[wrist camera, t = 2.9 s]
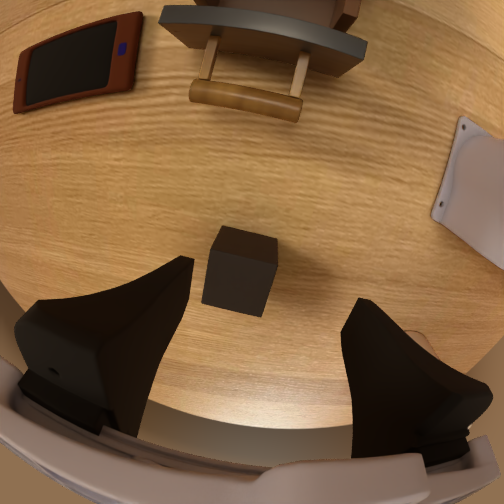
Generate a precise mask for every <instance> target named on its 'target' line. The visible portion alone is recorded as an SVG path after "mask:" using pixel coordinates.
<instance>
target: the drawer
mask: <svg viewBox="0 0 504 504" xmlns="http://www.w3.org/2000/svg"><path fill="white" fill-rule="evenodd" d="M194 2H195V3H196V4H197V5H165V6H164V7H163V10H162V13H161V16H160V19H159V22H158V23H159V24H160V25H161V26H162V27H164V28H165V29H166V30H168V31H169V32H170V33H171V34H173V35H174V36H175V37H176V38H177V39H179V40H180V41H181V42H182V43H184V44H185V45H186V46H187V47H188V48H193V49H205V53H204V57H203V61H202V64H201V68H200V72H199V76H198V79H195V80H193V82H192V84H191V86H190V90H189V100H190V101H191V102H194V103H201V104H208V105H214V106H220V107H226V108H232V109H237V110H242V111H247V112H252V113H256V114H261V115H265V116H269V117H274V118H278V119H282V120H286V121H289V122H293V123H297V122H298V120H299V117H300V113H301V109H302V105H303V100H301V99H299V98H300V96H301V92H302V88H303V84H304V80H305V77H306V73H307V69H310V70H314V71H317V72H320V73H324V74H327V75H330V76H333V77H336V78H339V77H340V76H342V75H343V74H344V73H346V72H347V71H349V70H350V69H351V68H353V67H354V66H356V65H357V64H359V63H360V62H362V61H363V60H364V57H365V52H366V47H367V43H368V42H367V41H365V40H363V39H360V38H357V37H355V36H352V35H349V34H346V33H345V32H346V31H347V30H348V29H349V27H350V26H351V25H352V24H353V23H354V21H355V20H356V19H357V18H358V13H359V8H360V3H361V0H194ZM218 51H223V52H230V53H237V54H243V55H249V56H255V57H260V58H265V59H270V60H275V61H279V62H283V63H288V64H292V65H296V69H295V73H294V76H293V80H292V84H291V88H290V92H289V96H286V95H282V94H278V93H274V92H270V91H265V90H261V89H256V88H251V87H246V86H240V85H235V84H229V83H223V82H216V81H210V80H211V76H212V72H213V68H214V64H215V60H216V57H217V53H218Z"/></svg>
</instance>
